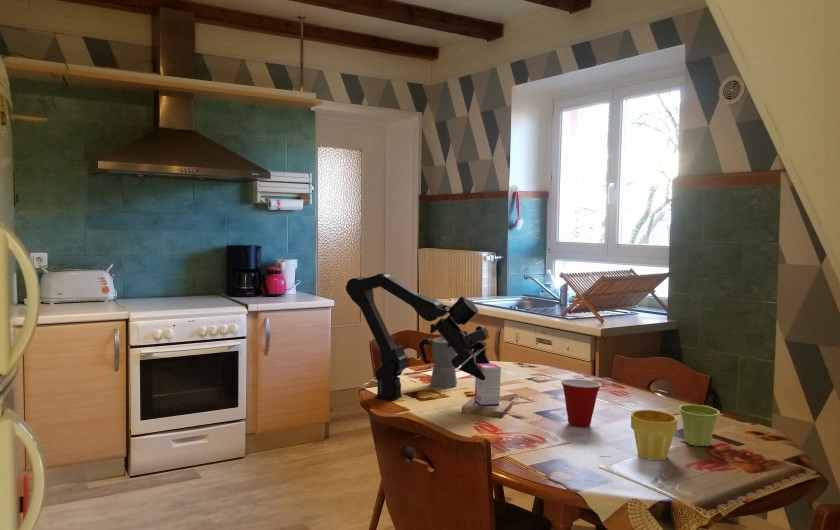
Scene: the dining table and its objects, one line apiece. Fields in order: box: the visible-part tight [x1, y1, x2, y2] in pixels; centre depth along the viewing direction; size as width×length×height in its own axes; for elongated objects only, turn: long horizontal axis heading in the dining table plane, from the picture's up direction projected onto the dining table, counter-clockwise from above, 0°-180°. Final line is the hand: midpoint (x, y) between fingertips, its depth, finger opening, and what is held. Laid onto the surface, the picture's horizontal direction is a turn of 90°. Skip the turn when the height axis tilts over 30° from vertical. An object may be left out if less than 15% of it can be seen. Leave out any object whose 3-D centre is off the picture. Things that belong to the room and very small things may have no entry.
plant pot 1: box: [630, 409, 679, 461], centre depth 159 cm, size 10×10×10 cm
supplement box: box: [474, 363, 502, 407], centre depth 195 cm, size 6×6×12 cm
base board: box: [461, 396, 513, 418], centre depth 195 cm, size 12×12×2 cm
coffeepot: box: [418, 336, 458, 389], centre depth 223 cm, size 15×9×18 cm, turn 103°
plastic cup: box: [560, 378, 602, 428], centre depth 182 cm, size 11×11×12 cm
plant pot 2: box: [678, 404, 721, 447], centre depth 169 cm, size 9×9×9 cm
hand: (488, 376), depth 195 cm, fingers open, 9 cm apart
